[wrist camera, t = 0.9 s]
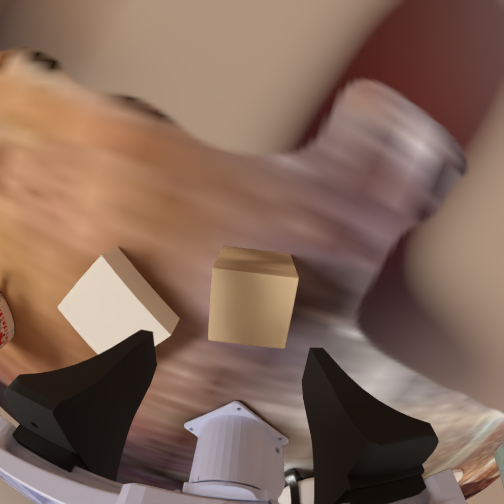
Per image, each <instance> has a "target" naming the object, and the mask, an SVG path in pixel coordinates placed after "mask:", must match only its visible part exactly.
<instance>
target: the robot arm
mask: <svg viewBox="0 0 504 504" xmlns="http://www.w3.org/2000/svg"><path fill="white" fill-rule="evenodd" d="M156 366H157V362H156V354H155V346H154V336H153V331H147V330H142V329H141V330H139V331H137V332H136V333H134V334H133V335H131V336H129V337H128V338H126V339H125V340H123V341H121V342H120V343H118V344H116V345H115V346H113V347H111V348H110V349H108V350H106V351H104V352H102V353H100V354H98V355H97V356H95V357H93V358H90V359H88V360H86V361H83V362H81V363H78V364H75V365H72V366H69V367H66V368H62V369H59V370H54V371H49V372H44V373H36V374H21V375H19V376H18V377H17V378H16V379H15V380H14V381H13V382H12V383H11V384H10V385H9V386H8V387H7V388H6V390H5V392H4V395H5V399H6V401H7V403H8V405H9V407H10V409H11V411H12V412H13V414H14V416H15V417H16V419H17V420H18V422H19V424H20V425H19V426H18V427H17V428H16V427H15V426H14V425H13V424H12V423H10V422H9V421H7V420H6V419H5V418H3V417H2V416H0V478H2V479H3V480H4V481H5V482H7V483H8V484H9V485H10V486H12V487H13V488H14V489H16V490H17V491H19V492H20V493H21V494H23V495H24V496H26V497H27V498H28V499H30V500H31V501H33V502H34V503H36V504H280V503H279V502H278V501H277V499H278V498H279V497H280V495H281V494H282V492H283V489H284V485H285V477H284V458H283V446H284V445H286V444H288V443H289V439H288V438H286V437H285V436H284V435H282V434H281V433H279V432H278V431H277V430H275V429H274V428H273V427H271V426H270V425H269V424H267V423H266V422H265V421H263V420H262V419H261V418H259V417H258V416H257V415H256V414H254V413H253V412H252V411H250V410H249V409H248V408H247V407H246V406H244V405H243V404H242V403H241V402H239V401H234V402H232V403H230V404H227V405H225V406H223V407H221V408H219V409H217V410H214V411H212V412H210V413H208V414H205V415H203V416H201V417H198V418H196V419H193V420H191V421H189V422H186V423H185V425H184V427H185V428H186V429H187V430H189V431H190V432H192V433H193V434H195V435H196V436H197V437H198V442H197V446H196V451H195V456H194V460H193V465H192V470H191V474H190V479H189V483H187V482H185V483H184V486H183V491H181V490H175V491H169V490H165V489H160V488H156V487H152V486H149V485H143V484H138V483H130V484H124V485H123V484H120V483H117V482H116V479H117V473H118V468H119V464H120V460H121V456H122V452H123V448H124V445H125V441H126V438H127V435H128V432H129V429H130V426H131V423H132V420H133V418H134V416H135V414H136V412H137V410H138V408H139V406H140V404H141V402H142V400H143V398H144V396H145V394H146V392H147V390H148V388H149V386H150V384H151V381H152V379H153V376H154V373H155V369H156ZM302 390H303V400H304V405H305V410H306V415H307V419H308V424H309V429H310V434H311V439H312V448H313V464H314V504H467V503H466V500H465V498H464V496H463V494H462V491H461V489H460V487H459V485H458V483H457V480H456V478H455V476H454V474H453V472H452V470H451V469H446V470H444V471H441V472H439V473H436V474H433V475H431V476H428V477H427V478H425V479H424V480H423V477H422V475H421V474H423V473H424V468H423V466H422V464H423V463H424V462H425V461H426V460H427V459H428V457H429V456H430V455H431V454H432V453H433V451H434V450H435V449H436V447H437V444H438V437H437V436H436V434H435V432H434V430H433V428H432V426H431V425H430V423H427V422H424V421H421V420H418V419H415V418H412V417H410V416H407V415H405V414H403V413H401V412H398V411H396V410H394V409H393V408H391V407H389V406H387V405H386V404H384V403H382V402H380V401H379V400H377V399H376V398H374V397H373V396H372V395H370V394H369V393H368V392H366V391H365V390H364V389H362V388H361V387H360V386H359V385H358V384H357V383H356V382H354V381H353V380H352V379H351V378H350V377H349V376H348V375H347V374H346V373H345V372H344V371H343V370H342V369H341V368H340V367H339V366H338V364H337V363H336V362H335V361H334V360H333V359H332V358H331V357H330V355H329V354H328V353H327V352H326V351H325V350H324V349H323V348H310V350H309V354H308V358H307V362H306V366H305V370H304V374H303V378H302Z"/></svg>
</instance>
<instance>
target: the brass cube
mask: <svg viewBox="0 0 504 504" xmlns="http://www.w3.org/2000/svg"><path fill="white" fill-rule="evenodd" d="M298 280H299V278H298V275H297V272H296V269H295V266H294V263H293V260H292V257H291V254H286V253H278V252H270V251H261V250H253V249H245V248H237V247H228V246H223V248H222V250H221V252H220V254H219V256H218V258H217V260H216V262H215V264H214V266H213V269H212V282H211V297H210V313H209V330H208V340H214V341H221V342H228V343H236V344H244V345H253V346H262V347H273V348H284V349H285V344H286V339H287V335H288V330H289V325H290V320H291V316H292V311H293V306H294V301H295V295H296V290H297V285H298Z"/></svg>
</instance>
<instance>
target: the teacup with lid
mask: <svg viewBox="0 0 504 504" xmlns="http://www.w3.org/2000/svg"><path fill="white" fill-rule="evenodd" d="M13 336H14V322H13V318H12V314H11V312H10V309H9V307H8V305H7V303H6V301H5V299H4V297H3V296H2V294H1V293H0V349H1V348H2V347H3V346H4V345H5V344H6V343H8V342H9V341H10V340H11V339H12V338H13Z"/></svg>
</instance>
